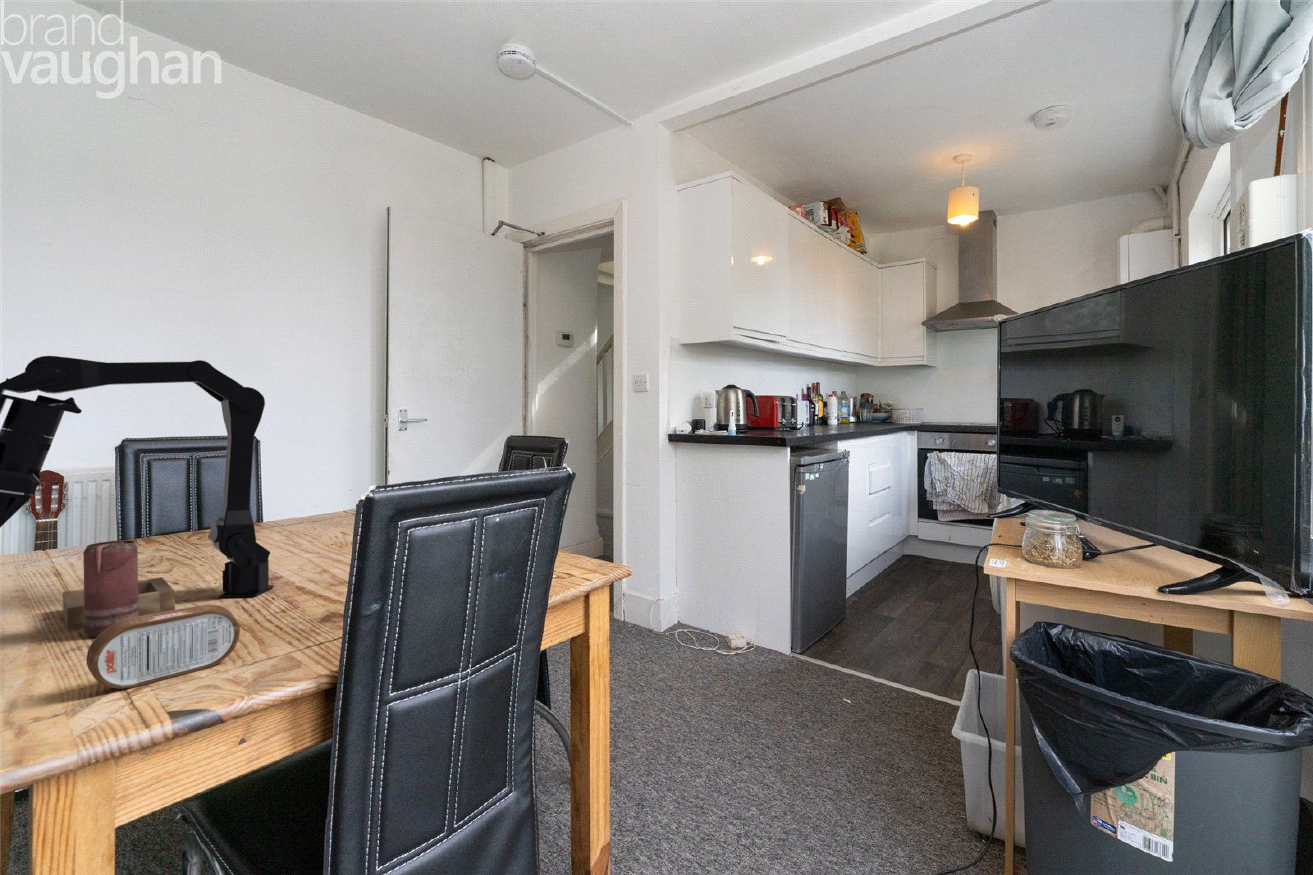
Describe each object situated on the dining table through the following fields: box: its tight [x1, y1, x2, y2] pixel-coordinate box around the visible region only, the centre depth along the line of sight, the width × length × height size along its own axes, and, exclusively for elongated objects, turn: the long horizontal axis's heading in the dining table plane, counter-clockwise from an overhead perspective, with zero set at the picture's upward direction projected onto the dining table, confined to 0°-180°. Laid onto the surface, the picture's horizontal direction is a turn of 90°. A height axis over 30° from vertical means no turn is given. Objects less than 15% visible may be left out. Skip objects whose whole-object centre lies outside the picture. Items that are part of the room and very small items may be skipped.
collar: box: [62, 577, 176, 632], centre depth 98 cm, size 13×13×4 cm
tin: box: [86, 604, 241, 690], centre depth 73 cm, size 15×3×8 cm, turn 140°
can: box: [82, 539, 139, 639], centre depth 89 cm, size 6×6×14 cm
